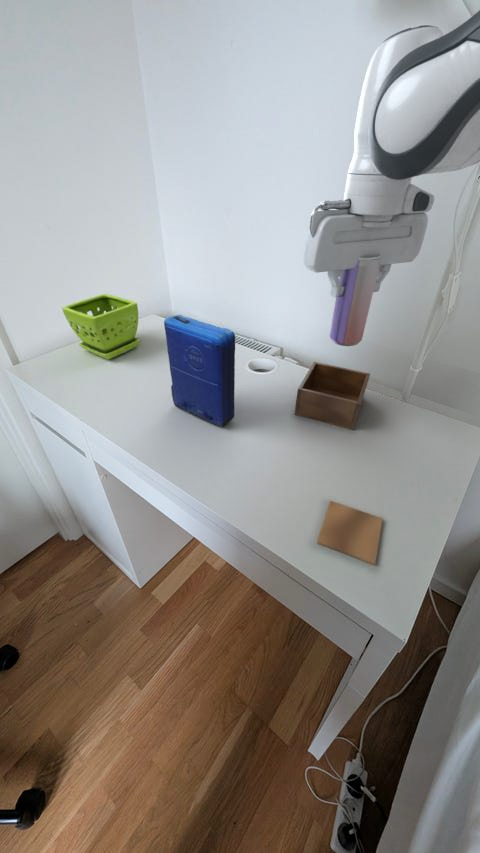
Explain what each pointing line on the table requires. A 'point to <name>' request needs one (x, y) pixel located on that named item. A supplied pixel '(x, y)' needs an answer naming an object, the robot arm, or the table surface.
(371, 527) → the cork mat
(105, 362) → the table surface
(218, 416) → the blue plastic case
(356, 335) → the beverage can
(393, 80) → the robot arm
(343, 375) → the wooden box
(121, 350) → the flower pot
